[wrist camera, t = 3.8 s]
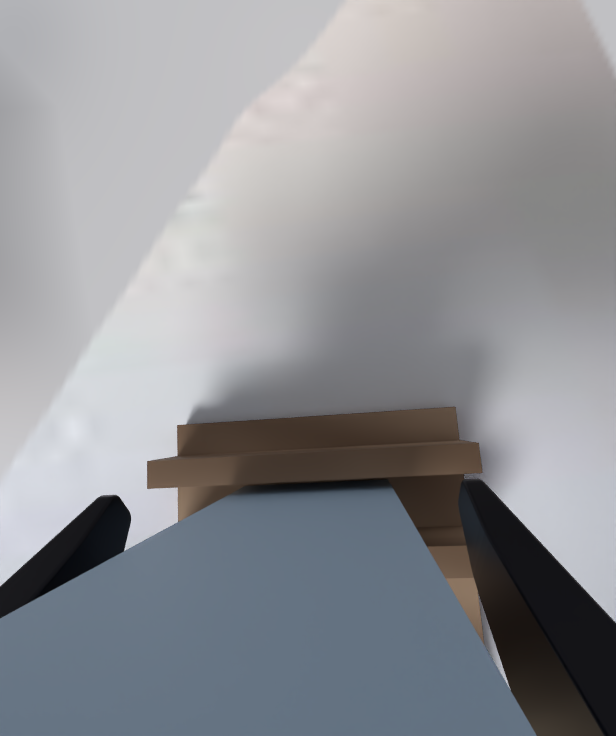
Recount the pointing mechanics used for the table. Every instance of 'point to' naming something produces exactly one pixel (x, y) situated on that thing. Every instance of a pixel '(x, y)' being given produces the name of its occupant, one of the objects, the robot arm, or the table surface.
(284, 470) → the rack
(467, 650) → the board
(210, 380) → the table surface
